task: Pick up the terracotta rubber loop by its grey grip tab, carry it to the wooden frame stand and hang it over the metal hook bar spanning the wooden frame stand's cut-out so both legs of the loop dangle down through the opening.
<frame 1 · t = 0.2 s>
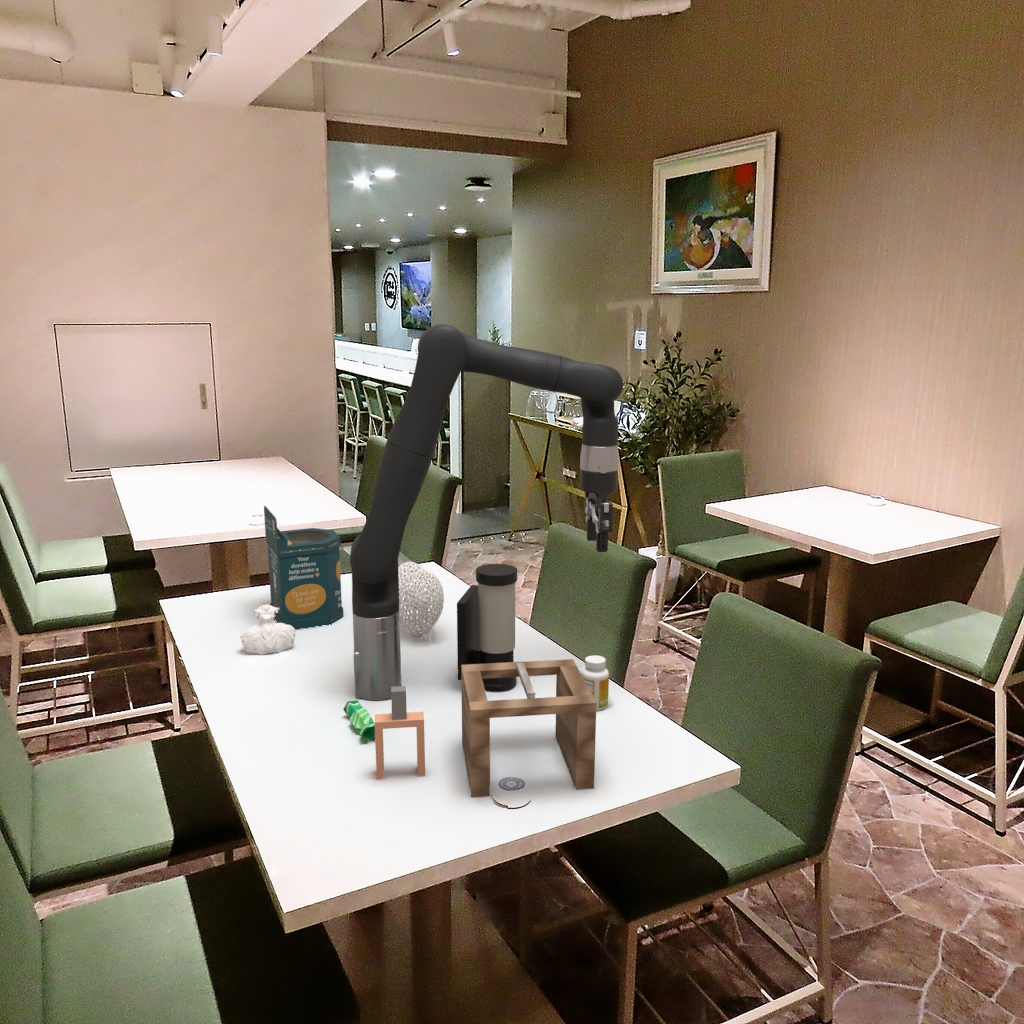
hand: (596, 545, 177), 29 cm above the table, tool pointing down, fingers open, 8 cm apart
supplement bottle: (594, 706, 172), on the table
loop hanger: (400, 773, 147), on the table
donation box: (308, 617, 221), on the table
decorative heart: (418, 636, 208), on the table
wooden frame stand: (524, 764, 150), on the table
bust: (269, 650, 200), on the table
light fixture: (490, 684, 182), on the table
candy: (362, 730, 162), on the table
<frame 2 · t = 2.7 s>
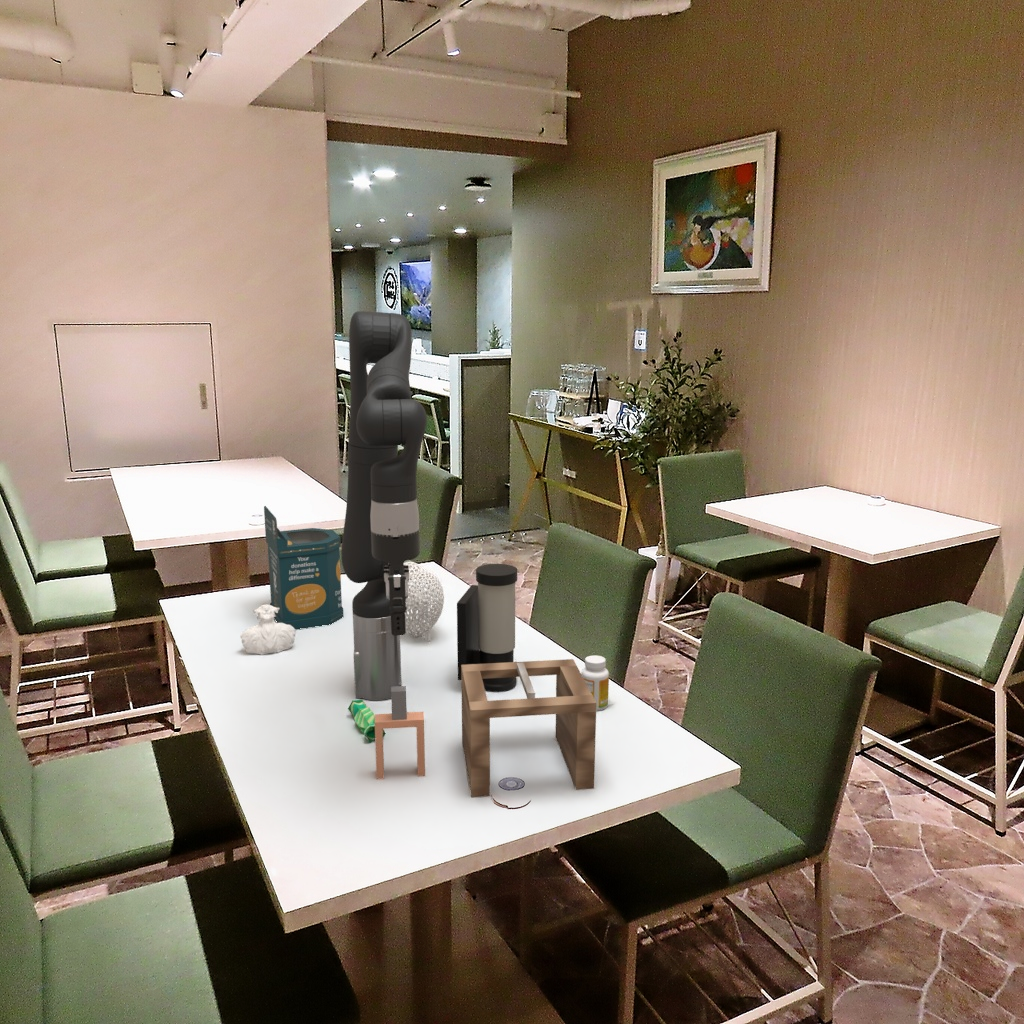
hand: (398, 625, 141), 26 cm above the table, tool pointing down, fingers open, 8 cm apart
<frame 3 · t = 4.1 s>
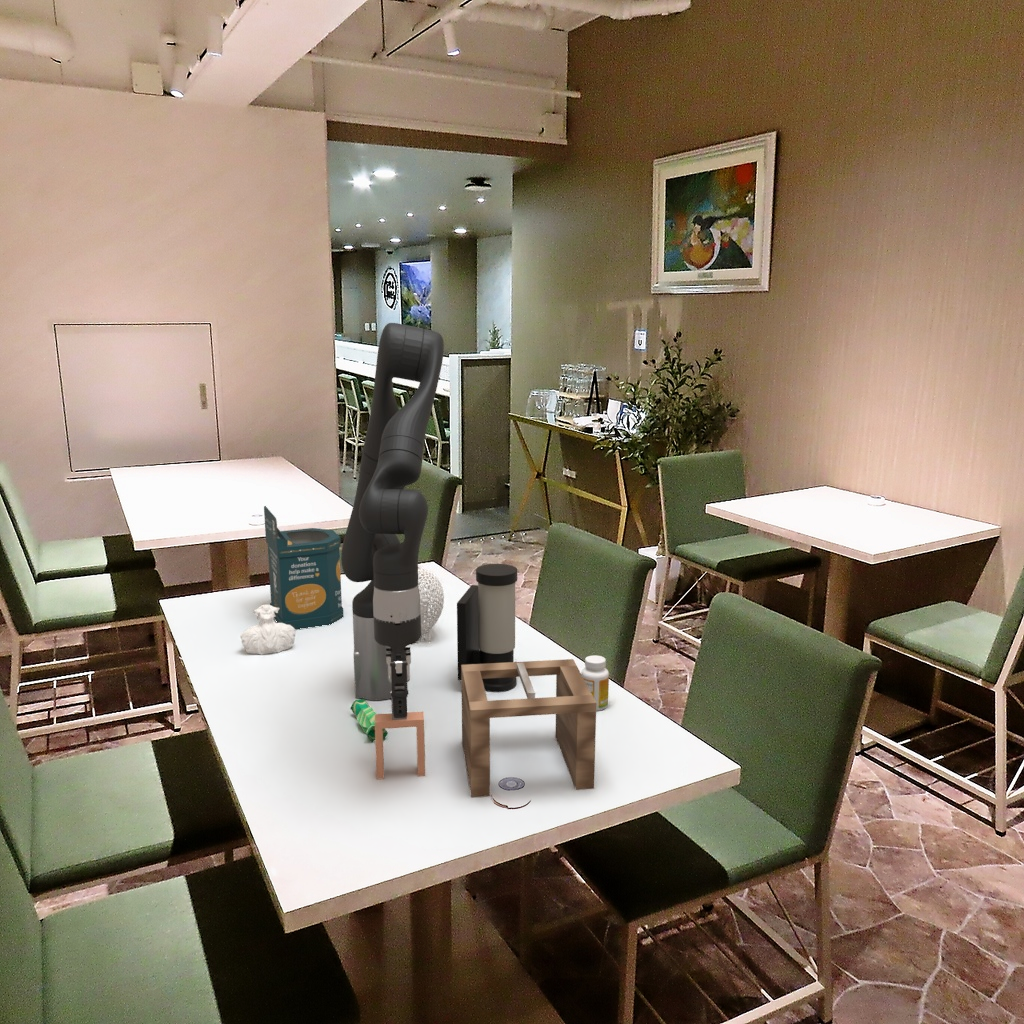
hand: (399, 705, 144), 12 cm above the table, tool pointing down, fingers open, 8 cm apart
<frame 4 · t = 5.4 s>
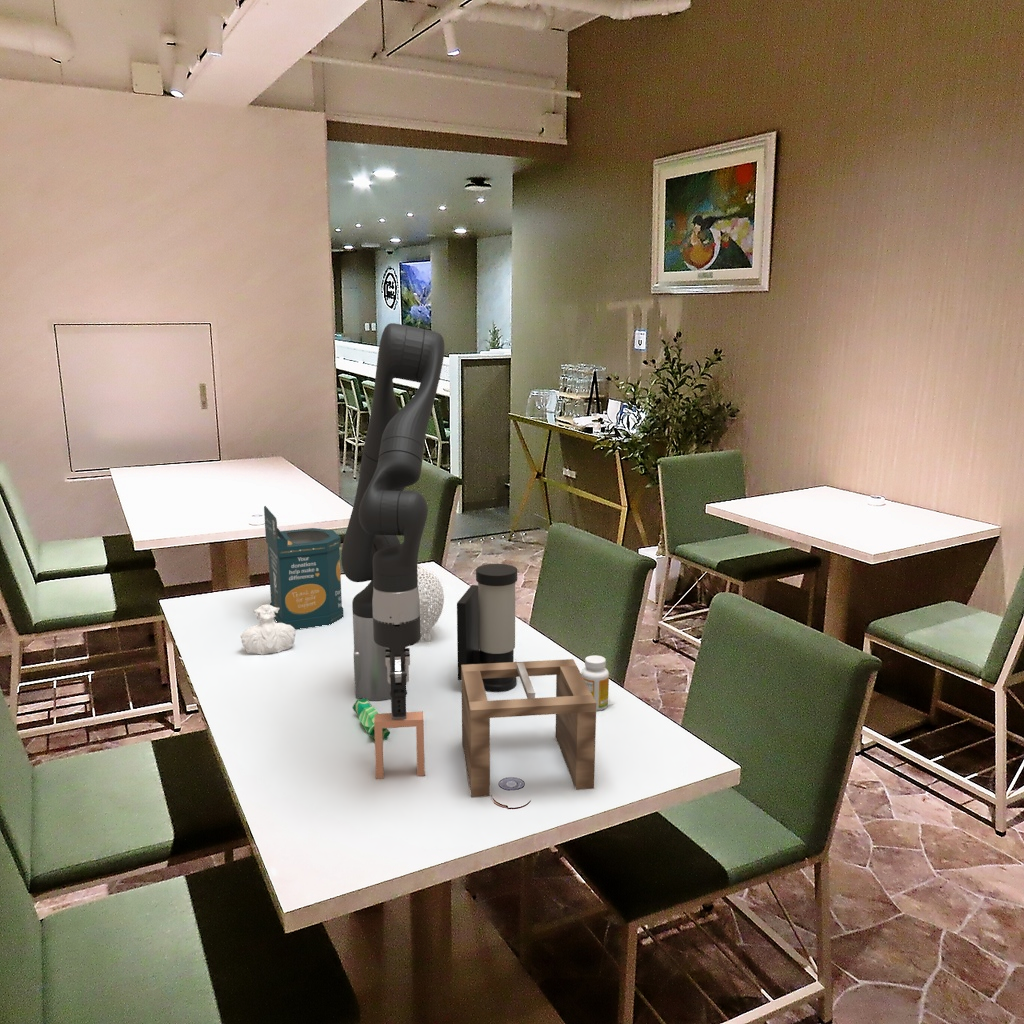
hand: (399, 712, 144), 11 cm above the table, tool pointing down, fingers closed on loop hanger, 2 cm apart
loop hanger: (400, 772, 147), on the table, touching gripper
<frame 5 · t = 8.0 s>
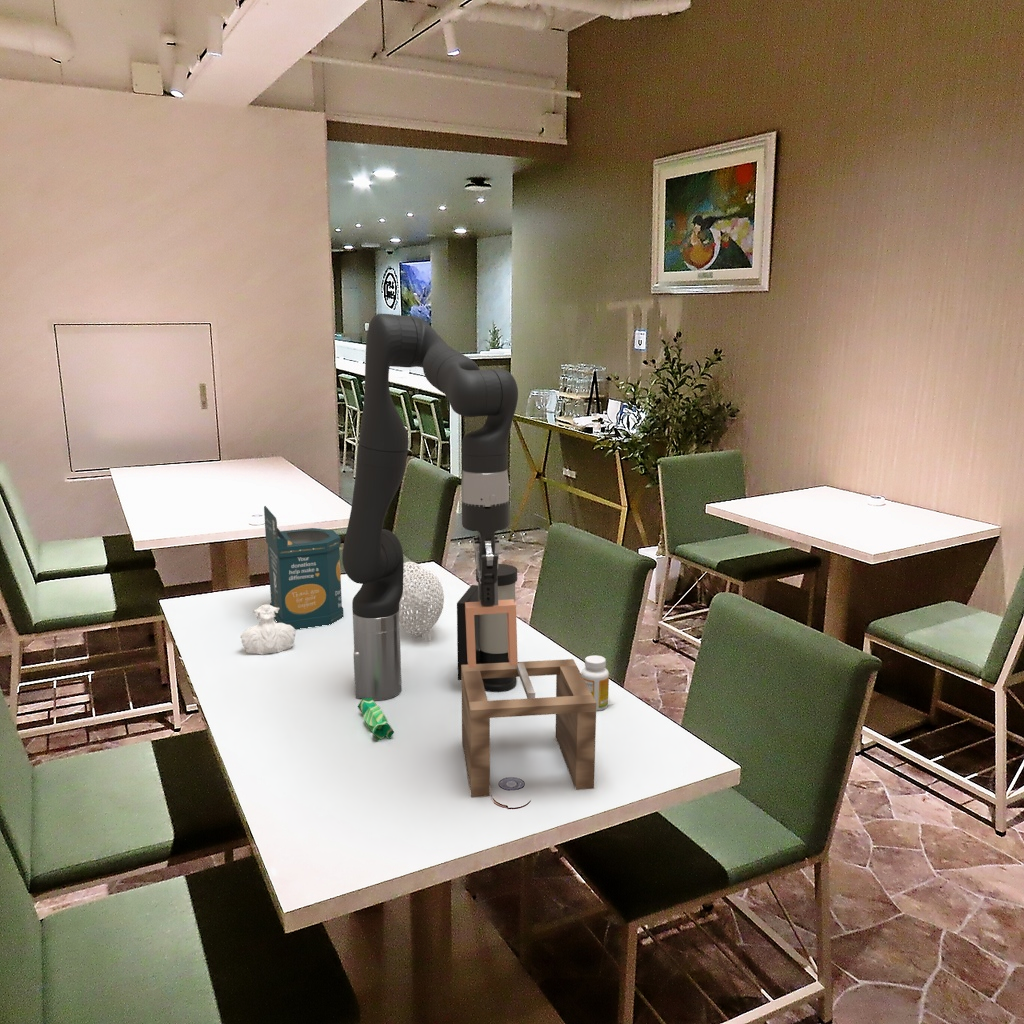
hand: (486, 602, 142), 30 cm above the table, tool pointing down, fingers closed on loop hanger
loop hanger: (492, 662, 144), point 19 cm above the table, touching gripper
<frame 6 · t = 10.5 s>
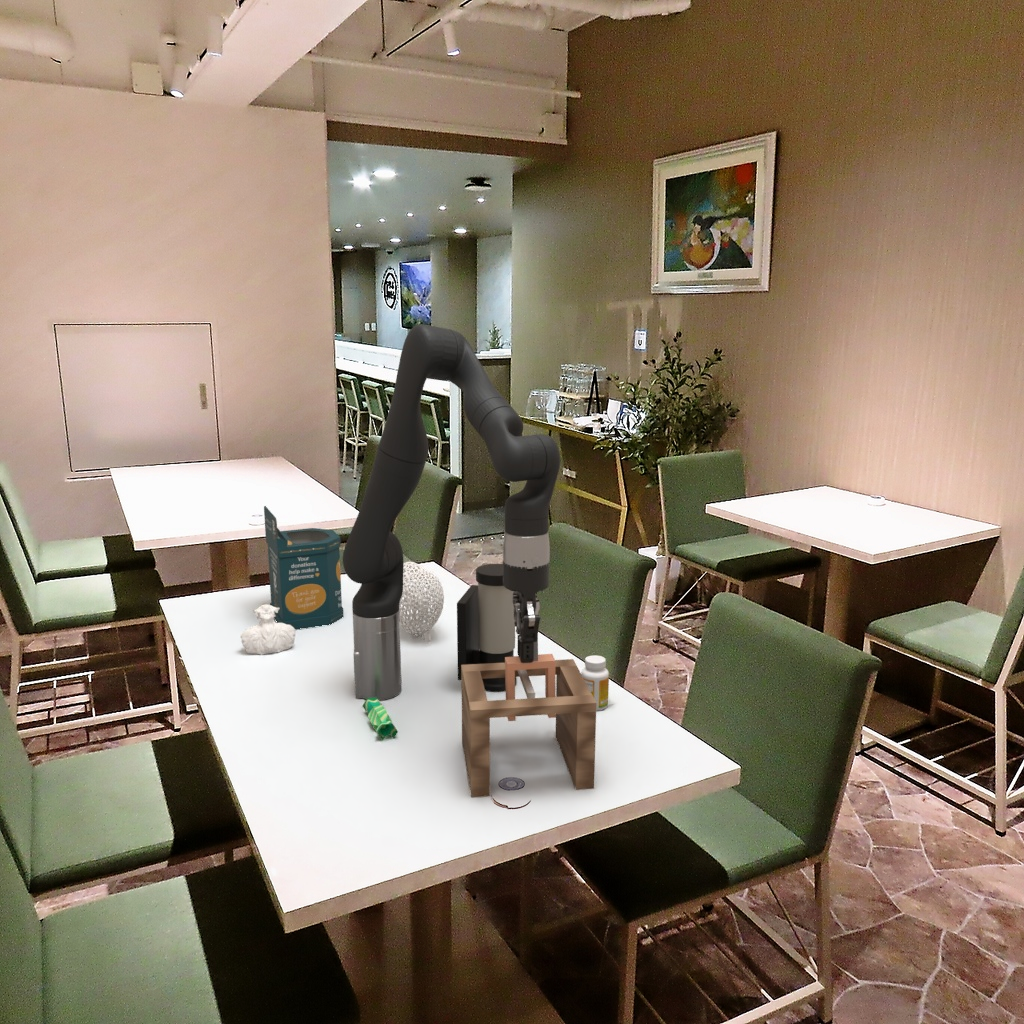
hand: (525, 658, 145), 19 cm above the table, tool pointing down, fingers closed on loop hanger, 2 cm apart
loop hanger: (530, 715, 148), point 9 cm above the table, touching gripper
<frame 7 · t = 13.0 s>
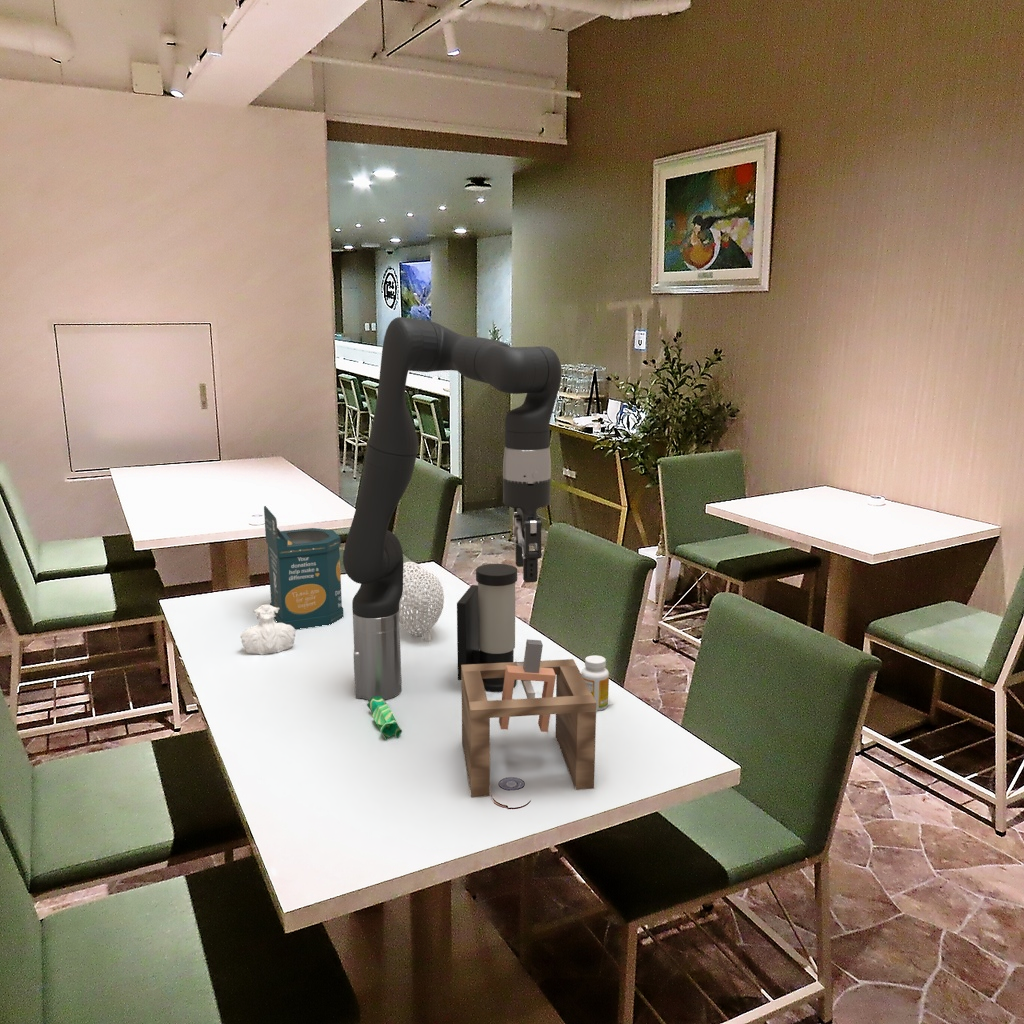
hand: (526, 573, 142), 34 cm above the table, tool pointing down, fingers open, 8 cm apart
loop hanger: (523, 726, 148), point 7 cm above the table, tilted 7°, touching wooden frame stand
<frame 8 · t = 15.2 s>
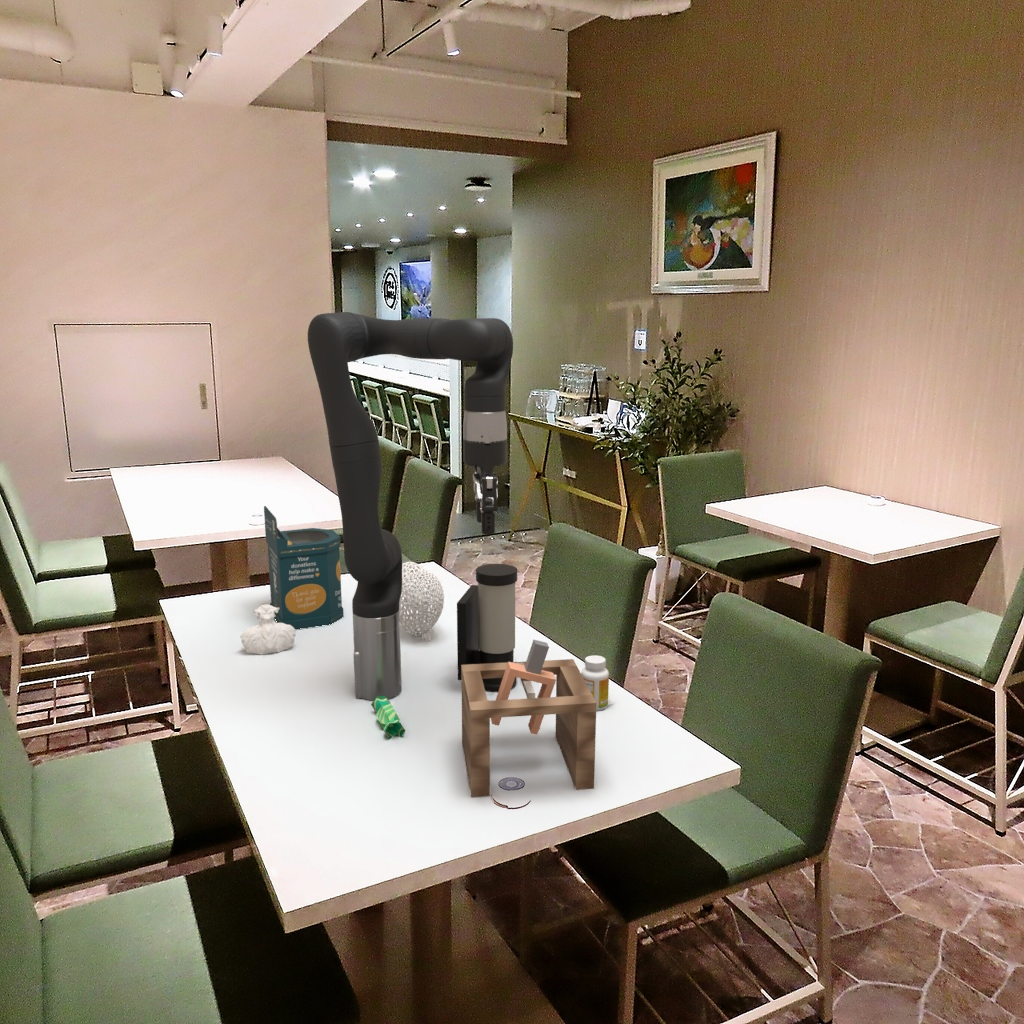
hand: (485, 527, 155), 38 cm above the table, tool pointing down, fingers open, 8 cm apart
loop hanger: (513, 725, 148), point 7 cm above the table, tilted 17°, touching wooden frame stand
at the end: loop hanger 1.9 cm off-centre on the wooden frame stand, point 7.4 cm above the wooden frame stand's base; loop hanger touching wooden frame stand; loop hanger tilted 17° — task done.
